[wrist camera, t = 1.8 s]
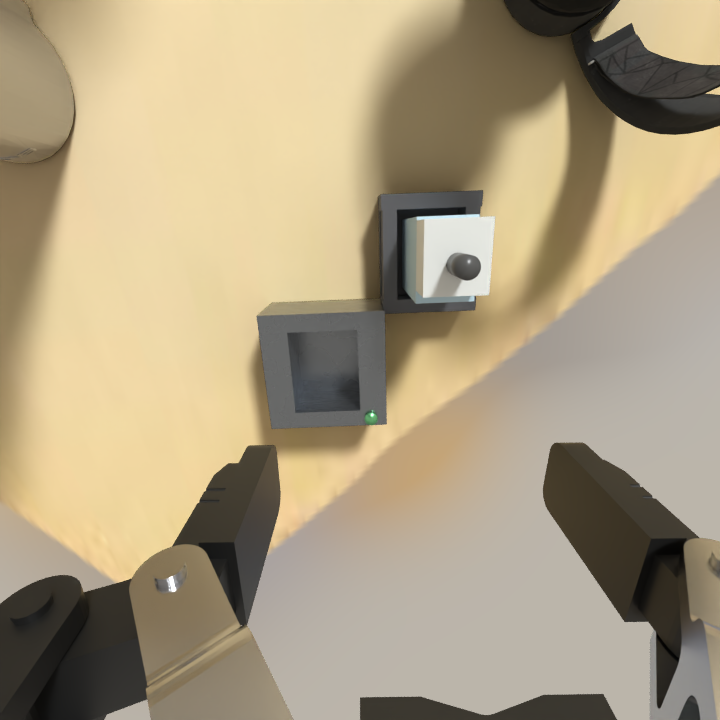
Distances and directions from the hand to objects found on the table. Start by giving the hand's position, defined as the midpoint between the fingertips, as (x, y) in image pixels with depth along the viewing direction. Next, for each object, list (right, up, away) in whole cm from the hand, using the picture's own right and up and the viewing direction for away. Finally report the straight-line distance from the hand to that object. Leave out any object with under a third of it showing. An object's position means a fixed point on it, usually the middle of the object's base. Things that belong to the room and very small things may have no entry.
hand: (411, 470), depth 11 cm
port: (-4, +4, +21) cm, 22 cm away
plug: (+4, +11, +18) cm, 21 cm away
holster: (+4, +12, +19) cm, 22 cm away
